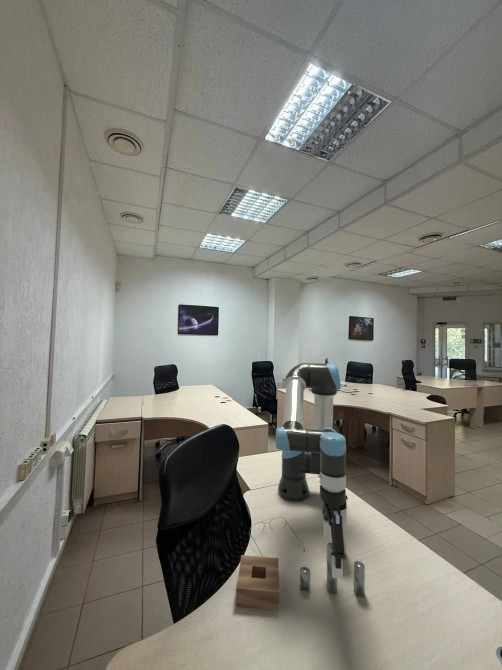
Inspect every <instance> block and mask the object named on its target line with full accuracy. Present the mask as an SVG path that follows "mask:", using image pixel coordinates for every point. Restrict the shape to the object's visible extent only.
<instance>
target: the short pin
mask: <svg viewBox="0 0 502 670" xmlns="http://www.w3.org/2000/svg"><path fill="white" fill-rule="evenodd" d="M299 588H300V590H301V591H302V592H304V593H308V592H310V590H311V570H310V568H309V567H307V566H302V567H300V569H299Z"/></svg>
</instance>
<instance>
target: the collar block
mask: <svg viewBox="0 0 502 670" xmlns="http://www.w3.org/2000/svg"><path fill="white" fill-rule="evenodd" d="M279 567H280V565H279V557H269V556H263V557H262V556H260V555H259V556H256V555H245V554H244V555H243V554H241V555H240V563H239V568H238V575H237V583H236V587H235V588H236V589H235V591H236V592H235V593H236V594H235V600H236V601H235V606H236V607H237V608H238V607H239V608H248V609H259V610H269V611H280V573H279V572H280V568H279Z"/></svg>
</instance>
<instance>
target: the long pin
mask: <svg viewBox="0 0 502 670" xmlns="http://www.w3.org/2000/svg"><path fill="white" fill-rule="evenodd" d="M331 552H333V544H332V543H331V542H330V543H326V592H328V593H329V594H330V595H336V594H337V592H338V578H333V577H332V555H331Z"/></svg>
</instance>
